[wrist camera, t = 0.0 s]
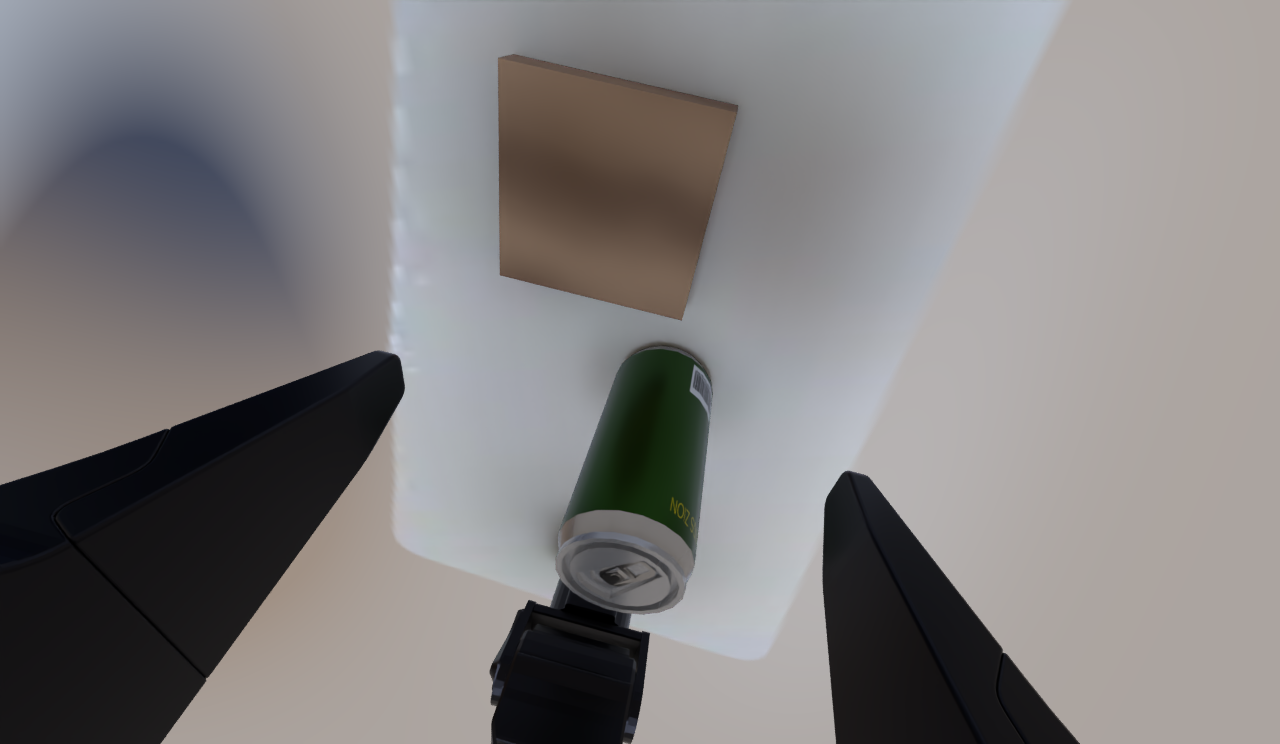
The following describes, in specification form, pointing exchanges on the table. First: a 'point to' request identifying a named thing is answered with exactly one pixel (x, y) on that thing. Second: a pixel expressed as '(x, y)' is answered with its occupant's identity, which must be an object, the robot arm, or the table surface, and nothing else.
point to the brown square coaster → (605, 183)
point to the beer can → (640, 487)
